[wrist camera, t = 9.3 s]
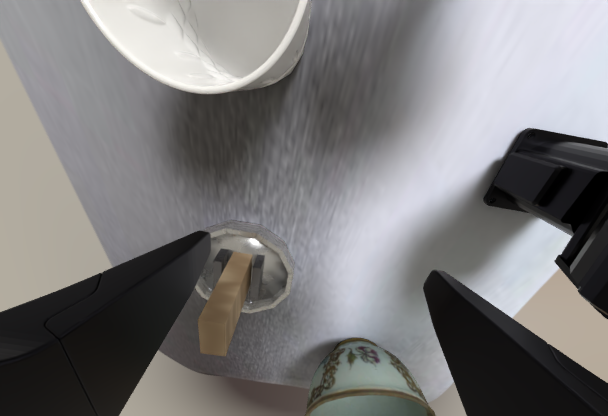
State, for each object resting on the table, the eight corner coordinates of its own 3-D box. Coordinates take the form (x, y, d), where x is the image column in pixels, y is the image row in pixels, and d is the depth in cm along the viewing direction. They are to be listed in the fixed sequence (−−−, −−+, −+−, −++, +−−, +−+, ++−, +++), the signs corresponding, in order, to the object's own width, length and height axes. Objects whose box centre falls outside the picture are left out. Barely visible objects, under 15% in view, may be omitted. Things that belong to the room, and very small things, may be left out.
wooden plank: (252, 254, 24) (225, 323, 17) (250, 282, 26) (225, 356, 18) (233, 251, 24) (197, 319, 17) (233, 280, 25) (200, 353, 18)
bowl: (311, 380, 35) (310, 455, 27) (300, 320, 29) (294, 395, 22) (405, 379, 33) (429, 457, 26) (413, 315, 27) (447, 394, 20)
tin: (300, 231, 23) (299, 246, 21) (286, 307, 28) (283, 325, 25) (190, 212, 22) (176, 226, 20) (195, 292, 27) (184, 310, 25)
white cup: (243, 113, 18) (173, 132, 9) (176, 0, 15) (-22, -135, 6) (334, 58, 16) (357, 14, 7) (278, -84, 13) (201, -451, 4)
